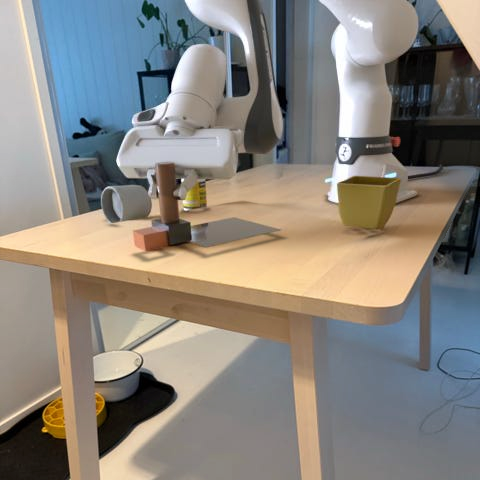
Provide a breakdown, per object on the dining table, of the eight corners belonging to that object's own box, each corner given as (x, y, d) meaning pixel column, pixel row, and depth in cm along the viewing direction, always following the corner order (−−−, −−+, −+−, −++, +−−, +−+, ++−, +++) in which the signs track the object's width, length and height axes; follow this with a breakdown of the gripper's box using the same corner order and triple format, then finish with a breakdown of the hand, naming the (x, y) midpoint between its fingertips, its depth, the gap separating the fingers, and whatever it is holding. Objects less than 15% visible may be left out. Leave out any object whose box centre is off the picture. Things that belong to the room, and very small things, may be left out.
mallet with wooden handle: (174, 233, 79) (166, 160, 74) (192, 240, 75) (185, 163, 70) (153, 237, 77) (144, 162, 72) (170, 245, 73) (162, 166, 67)
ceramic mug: (156, 219, 97) (152, 182, 94) (125, 227, 92) (119, 188, 88) (125, 215, 104) (120, 179, 100) (94, 222, 98) (88, 185, 95)
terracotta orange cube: (155, 226, 75) (132, 230, 73) (166, 230, 72) (143, 235, 70) (157, 249, 77) (135, 254, 75) (169, 255, 74) (146, 260, 72)
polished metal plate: (234, 224, 91) (234, 217, 91) (281, 238, 81) (281, 229, 80) (163, 239, 83) (162, 231, 82) (205, 256, 73) (204, 247, 72)
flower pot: (382, 239, 78) (387, 185, 74) (333, 234, 82) (336, 182, 78) (396, 228, 85) (401, 177, 81) (350, 223, 89) (353, 175, 85)
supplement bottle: (203, 212, 103) (200, 166, 99) (180, 212, 104) (176, 167, 100) (209, 207, 107) (207, 163, 103) (187, 207, 109) (184, 164, 104)
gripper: (250, 139, 76) (233, 211, 72) (141, 141, 82) (120, 207, 78) (241, 111, 71) (222, 186, 66) (124, 114, 77) (100, 184, 73)
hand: (166, 197), depth 72 cm, fingers closed on mallet with wooden handle, 3 cm apart
